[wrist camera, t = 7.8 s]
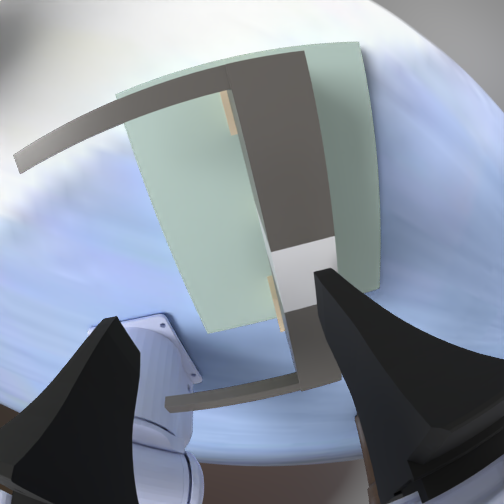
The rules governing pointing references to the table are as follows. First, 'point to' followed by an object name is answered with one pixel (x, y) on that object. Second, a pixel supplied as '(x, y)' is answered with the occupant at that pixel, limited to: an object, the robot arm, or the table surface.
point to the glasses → (265, 196)
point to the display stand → (240, 193)
